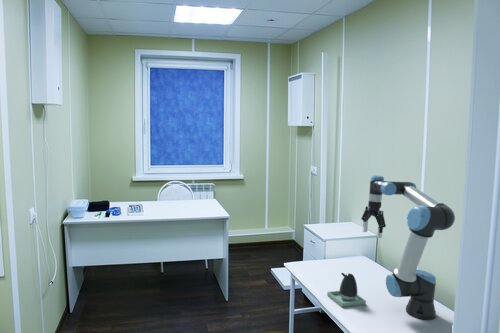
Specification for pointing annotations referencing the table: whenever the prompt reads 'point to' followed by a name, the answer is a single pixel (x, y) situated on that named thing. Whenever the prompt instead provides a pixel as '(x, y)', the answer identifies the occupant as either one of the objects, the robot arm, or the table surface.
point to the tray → (343, 303)
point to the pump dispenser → (348, 287)
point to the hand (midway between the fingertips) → (371, 234)
